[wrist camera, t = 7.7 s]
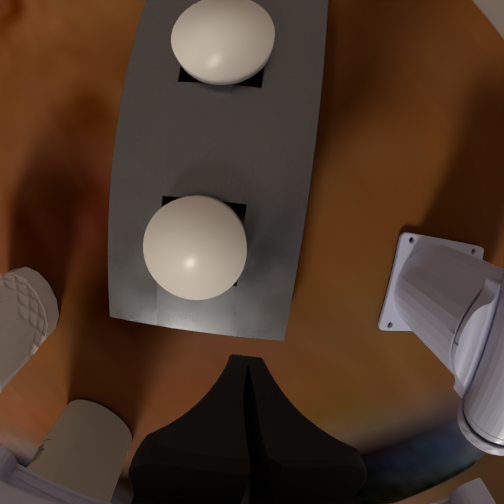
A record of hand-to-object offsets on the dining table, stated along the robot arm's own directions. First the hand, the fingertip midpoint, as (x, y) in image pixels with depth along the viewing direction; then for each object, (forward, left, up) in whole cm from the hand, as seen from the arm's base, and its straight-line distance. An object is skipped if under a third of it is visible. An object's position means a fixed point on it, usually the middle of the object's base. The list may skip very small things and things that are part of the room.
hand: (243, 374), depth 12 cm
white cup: (+19, +4, -10) cm, 22 cm away
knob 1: (+3, -16, -10) cm, 19 cm away
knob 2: (+3, -4, -10) cm, 11 cm away
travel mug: (+14, +18, -10) cm, 25 cm away
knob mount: (+3, -10, -10) cm, 14 cm away
